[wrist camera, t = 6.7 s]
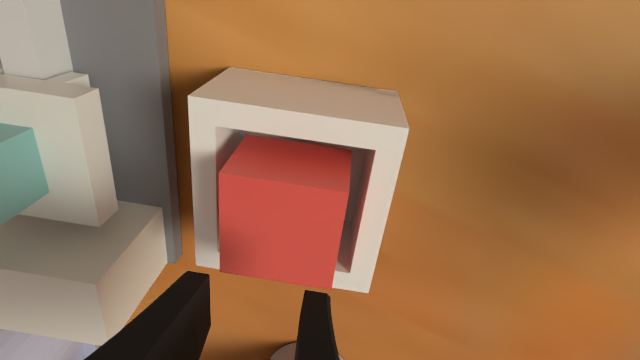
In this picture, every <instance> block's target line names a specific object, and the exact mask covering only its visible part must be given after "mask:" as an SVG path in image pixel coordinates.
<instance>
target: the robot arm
mask: <svg viewBox="0 0 640 360" xmlns="http://www.w3.org/2000/svg"><path fill="white" fill-rule="evenodd" d="M210 326H211V317H210V281H209V274H203V273H197V272H191V271H187V272H186V273H184V274H183V275H182V276H181V277H180V278H179V279H178V280H177V281H176V282H174V283H173V284H172V285H171V286H170V287H169V288H168V289H167V290H166V291H165V292H164V293H163V294H162V295H160V296H159V297H158V298H157V299H156V300H155V301H154V302H153V303H152V304H150V305H149V306H148V307H147V308H146V309H145V310H144V311H143V312H141V313H140V314H139V315H138V316H137V317H136V318H134V319H133V320H132V321H131V322H130V323H129V324H127V325H126V326H125V327H124V328H123V329H122V330H120V331H119V332H118V333H117V334H116V335H114V336H113V337H112V338H110V339H109V340H108V341H107V342H105V343H104V344H103V345H102V346H100V347H99V346H98V345H93V344H87V343H81V342H75V341H69V340H63V339H57V338H51V337H45V336H39V335H34V334H28V333H22V332H16V331H10V330H4V329H0V360H199V358H200V355H201V352H202V349H203V347H204V344H205V341H206V338H207V335H208V332H209V329H210ZM294 360H340V359H339V355H338V351H337V346H336V341H335V336H334V330H333V324H332V317H331V306H330V296H329V295H328V294H327V293H321V292H314V291H308V290H305V293H304V298H303V303H302V308H301V313H300V321H299V328H298V336H297V343H296V350H295V358H294Z"/></svg>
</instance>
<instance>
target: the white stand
mask: <svg viewBox="0 0 640 360" xmlns="http://www.w3.org/2000/svg"><path fill="white" fill-rule="evenodd" d="M0 62H1V63H2V66H3V70H4V73H5V74H6V75H13V76H19V77H26V78H33V79H39V80H47V79H50V78H53V77H56V76H59V75H62V74H66V73H69V72H75V73H82V74H88V78H89V83H90V87H93V88H99V94H100V100H101V106H102V113H103V119H104V125H105V131H106V137H107V143H108V149H109V155H110V161H111V167H112V174H113V180H114V186H115V192H116V198H117V204H118V210H117V211H116V212H115V213H114V214H113V215H112V216H111V217H110V218H109V219H108V220H107V221H106V222H105V223H104V224H103V225H101V226H100V227H95V226H89V225H83V224H76V223H70V222H64V221H58V220H51V219H45V218H39V217H33V216H26V215H20V214H17V215H16V216H14V217H13V218H11V219H10V220H8V221H7V222H6V223H4V224H3V225H1V226H0V329H4V330H10V331H16V332H22V333H28V334H34V335H39V336H45V337H51V338H57V339H63V340H69V341H75V342H81V343H87V344H93V345H99V346H102V345H103V344H104V343H105V342H107V341H108V340H109V339H110V338H112V337H113V336H114V335H116V334H117V333H118V332H119V331H120V330H122V328H123V327H124V325H125V324H126V322H127V321H128V319H129V318H130V316H131V315H132V314H133V312H134V311H135V309H136V308H137V306H138V305H139V303H140V302H141V300H142V299H143V297H144V296H145V295H146V293H147V292H148V290H149V289H150V287H151V286H152V284H153V283H154V281H155V280H156V278H157V277H158V276H159V274H160V273H161V271H162V270H163V268H164V267H165V265H166V264H167V262H168V263H174V264H176V262H177V261H178V259H179V258H180V256H181V255H182V240H181V226H180V212H179V198H178V184H177V170H176V156H175V142H174V128H173V113H172V99H171V85H170V71H169V57H168V43H167V29H166V15H165V0H0Z"/></svg>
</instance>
